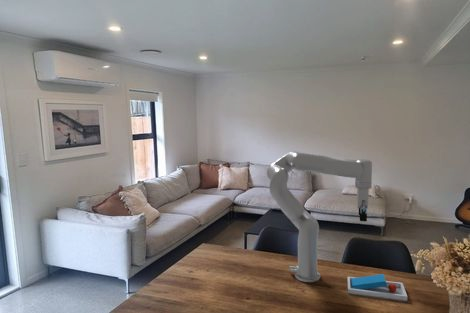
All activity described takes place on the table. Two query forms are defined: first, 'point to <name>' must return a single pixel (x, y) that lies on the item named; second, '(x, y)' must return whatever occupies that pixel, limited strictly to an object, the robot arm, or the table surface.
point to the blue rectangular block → (372, 282)
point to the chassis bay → (380, 291)
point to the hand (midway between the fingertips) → (362, 218)
